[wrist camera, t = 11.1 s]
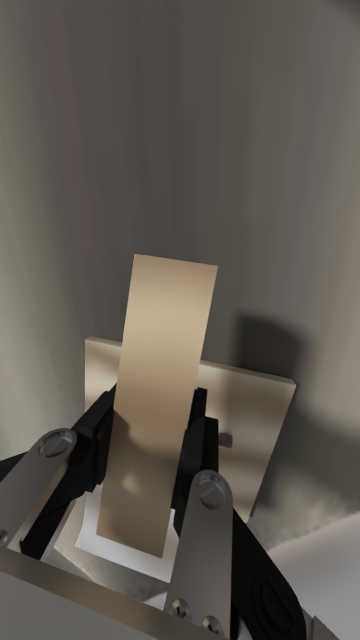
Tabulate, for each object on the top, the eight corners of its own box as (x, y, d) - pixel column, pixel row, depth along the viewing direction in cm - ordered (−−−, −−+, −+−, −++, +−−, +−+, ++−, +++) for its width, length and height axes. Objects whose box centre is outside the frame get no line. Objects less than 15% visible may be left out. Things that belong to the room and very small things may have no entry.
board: (91, 336, 20) (77, 344, 18) (292, 379, 18) (302, 394, 16) (89, 463, 26) (78, 481, 23) (245, 512, 23) (248, 537, 21)
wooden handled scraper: (120, 264, 11) (72, 244, 7) (262, 286, 10) (295, 277, 6) (84, 539, 14) (33, 636, 10) (197, 582, 13) (191, 710, 9)
